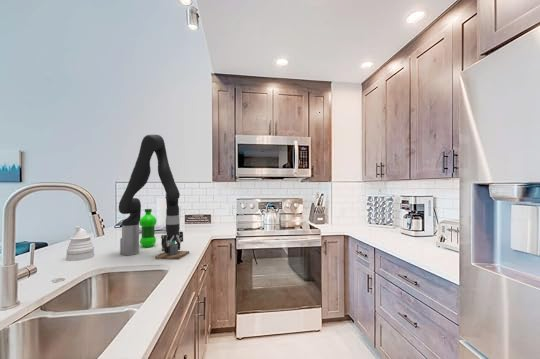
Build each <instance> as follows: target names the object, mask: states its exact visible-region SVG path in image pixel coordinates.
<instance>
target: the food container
mask: <svg viewBox="0 0 540 359" xmlns="http://www.w3.org/2000/svg"><path fill="white" fill-rule="evenodd" d="M162 235H163V234H161V236H160V239H162ZM166 239H167V238H166ZM168 241H169V240H168ZM170 244H176V241H171V243H170ZM161 251H162V252H163V251H164V252H165V247H164V246H162V245H161Z"/></svg>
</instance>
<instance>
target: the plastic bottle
mask: <svg viewBox="0 0 540 359" xmlns="http://www.w3.org/2000/svg"><path fill="white" fill-rule="evenodd" d="M152 211H153V210H152V208H146V209H144V213H145V214H144V215H143V216H142V217H140V221H139V227H140V226H141V238H140V239H139V245H140V246H142V247H143V248H151V247H154V245H155V244H156V243H157V239H156V236H155V226H156V225H157V223H158V221H157V217H155V216H154V215H153V214H152Z"/></svg>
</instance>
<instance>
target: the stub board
mask: <svg viewBox="0 0 540 359" xmlns="http://www.w3.org/2000/svg"><path fill="white" fill-rule="evenodd" d="M188 254H190V251H189V250H178V254H176V255H167V253H165V251H164V252H163V251H162V252H161V253H160V254H157V255H156V256H154V259H155V260H177V261H178V260H181V259H182V258H184V257H185V256H187V255H188Z"/></svg>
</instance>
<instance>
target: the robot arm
mask: <svg viewBox="0 0 540 359" xmlns="http://www.w3.org/2000/svg"><path fill="white" fill-rule="evenodd" d="M154 153H155V155H156V159H157V174H158V176H159V180H160V182H161V185H162V187H163V189H164V191H165V201H166V210H165V211H166V214H165V215H166V217H165V232H166V234H161V235H162V238H161V247H162V246H164V247H165V251H164V252H165V253H169V244H170V243H171V241H175V244H178V251H181V244H182V242H184V232H183V231H180V230H181V229H180V206H179V198H180V196H181V194H180V190H179V189H178V186H177V184H176V182H175V178H174V175H173V173H172V171H171V167H170V164H169V159H168V155H167V149H166V142H165V140H164V137H163V136H162V135H160V134H146V135H145V136H143V138H142V140H141V143H140V146H139V152H138V156H137V159H136V161H135V164H134V167H133V169H132V172H131V174H130V177H129V180H128V183H127V186H126V188H125V189H124V192H123V194H122V196H121V198H120V201H119V202H118V211H119V213H120V214H122V215H128V217H126V218H125V219H123V220H121V237H120V240H119V242H120V243H119V248H120V249H119V250H120V251H119V255H121V256H133V255H137V254H139V253H140V219H141V212H142V203H141V201H140V199H139V198H138V197H135V196H136V194H137V193H138V192H139V191H140V190H141V189H143V188H144V187H145V185H146V184H147V183H148V180H149V178H150V176H151V159H152V157H153V154H154ZM166 238H167V239H166ZM168 240H169V241H168Z"/></svg>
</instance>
